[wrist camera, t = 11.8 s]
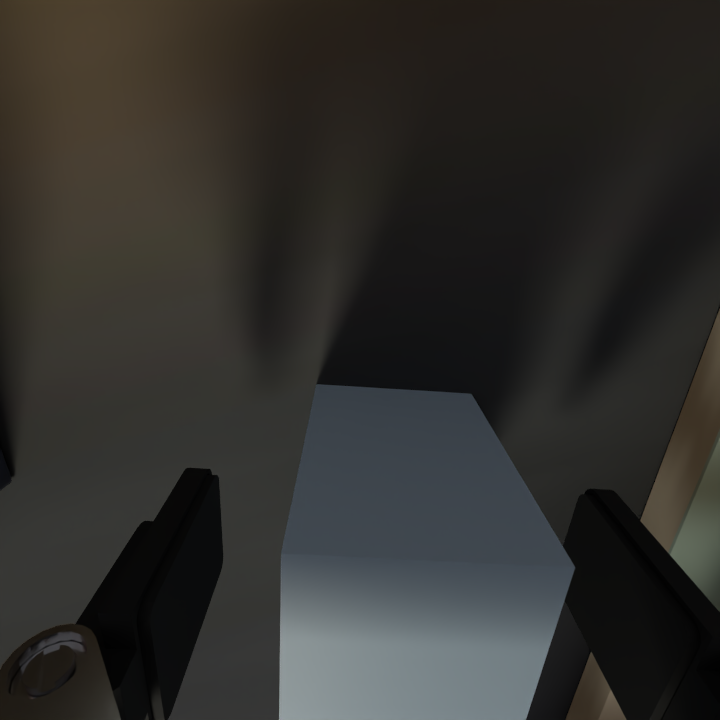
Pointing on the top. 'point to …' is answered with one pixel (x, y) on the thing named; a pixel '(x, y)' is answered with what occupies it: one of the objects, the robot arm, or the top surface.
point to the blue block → (413, 565)
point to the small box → (4, 472)
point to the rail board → (678, 512)
